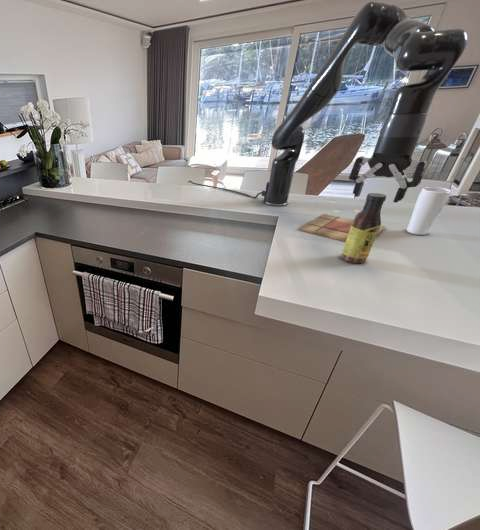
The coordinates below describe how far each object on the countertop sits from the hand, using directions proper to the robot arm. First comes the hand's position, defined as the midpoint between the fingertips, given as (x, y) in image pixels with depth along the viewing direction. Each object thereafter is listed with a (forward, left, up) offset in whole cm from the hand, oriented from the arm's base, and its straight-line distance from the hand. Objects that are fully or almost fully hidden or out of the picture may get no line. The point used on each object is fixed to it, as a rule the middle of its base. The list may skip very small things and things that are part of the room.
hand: (375, 198), depth 78 cm
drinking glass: (+7, +35, -19) cm, 40 cm away
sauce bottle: (0, 0, -19) cm, 19 cm away
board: (-11, +22, -19) cm, 31 cm away
